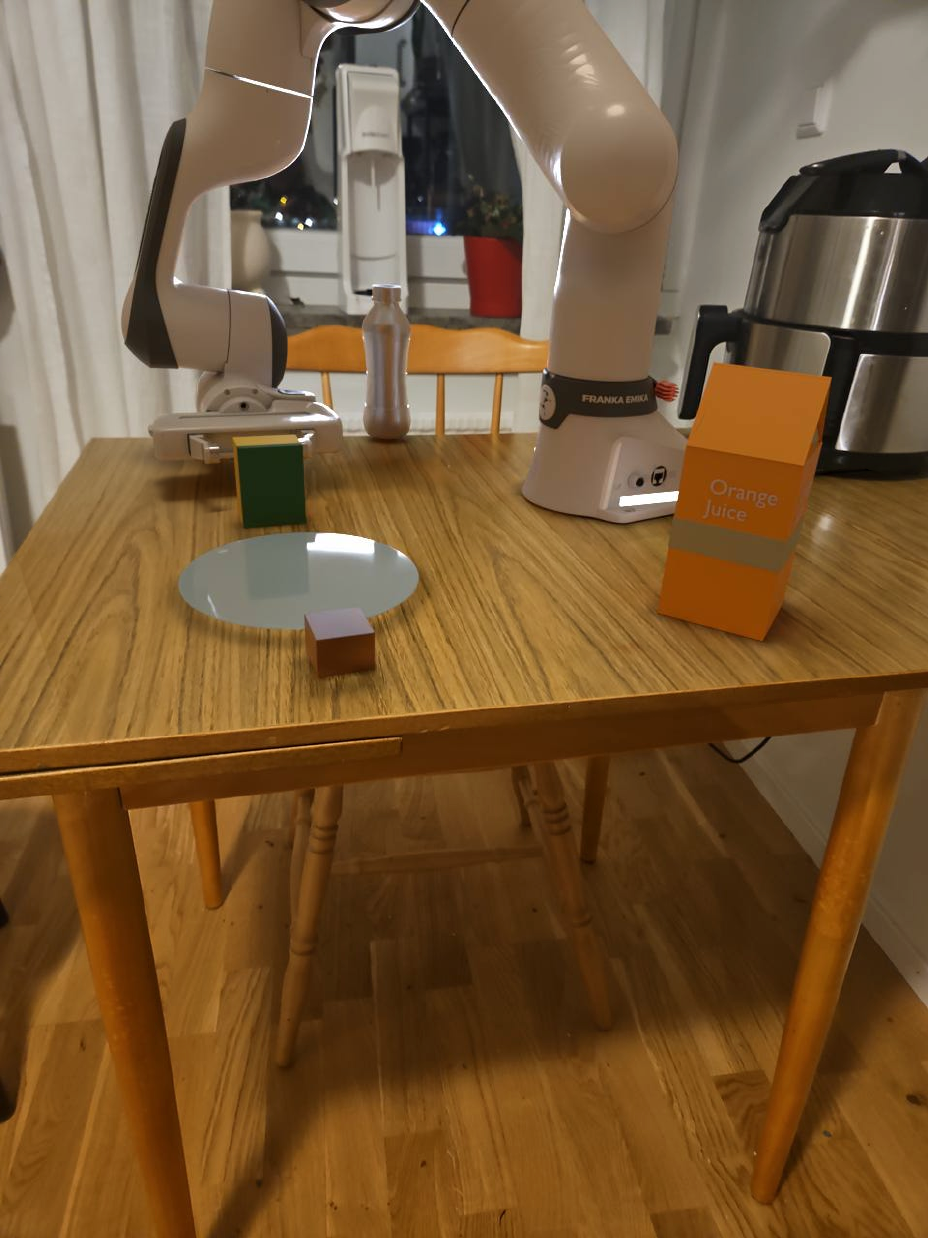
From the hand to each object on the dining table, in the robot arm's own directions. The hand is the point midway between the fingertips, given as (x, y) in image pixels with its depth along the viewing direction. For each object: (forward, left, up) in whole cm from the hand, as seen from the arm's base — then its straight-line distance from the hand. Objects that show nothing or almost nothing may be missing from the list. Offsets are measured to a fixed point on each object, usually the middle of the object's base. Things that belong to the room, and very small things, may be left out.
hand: (260, 453), depth 83 cm
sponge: (0, +6, -6) cm, 9 cm away
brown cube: (0, +35, -6) cm, 36 cm away
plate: (0, +20, -6) cm, 21 cm away
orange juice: (-33, +34, -6) cm, 48 cm away
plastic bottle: (-21, -26, -6) cm, 34 cm away
